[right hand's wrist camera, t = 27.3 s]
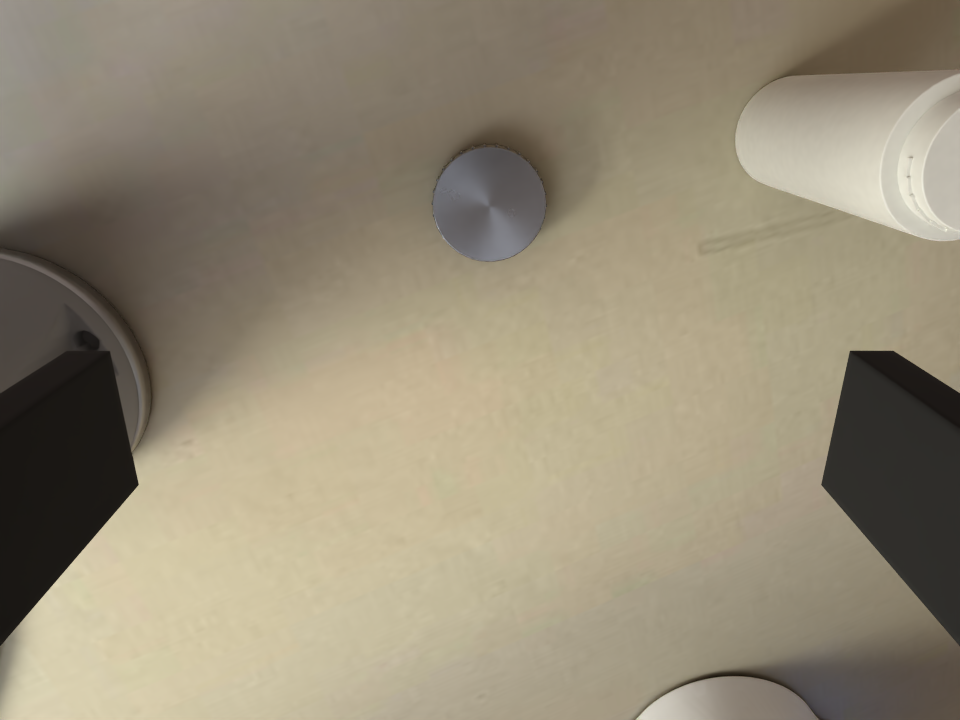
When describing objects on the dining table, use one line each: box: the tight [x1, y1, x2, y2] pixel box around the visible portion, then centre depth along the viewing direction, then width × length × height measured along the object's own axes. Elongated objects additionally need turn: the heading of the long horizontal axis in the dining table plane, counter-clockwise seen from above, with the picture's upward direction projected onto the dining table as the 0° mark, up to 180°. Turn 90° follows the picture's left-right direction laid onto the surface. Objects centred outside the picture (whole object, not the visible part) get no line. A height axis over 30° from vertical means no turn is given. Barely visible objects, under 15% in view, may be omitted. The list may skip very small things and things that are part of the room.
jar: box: [735, 69, 960, 241], centre depth 28 cm, size 6×6×15 cm
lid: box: [432, 143, 547, 262], centre depth 36 cm, size 6×6×2 cm
